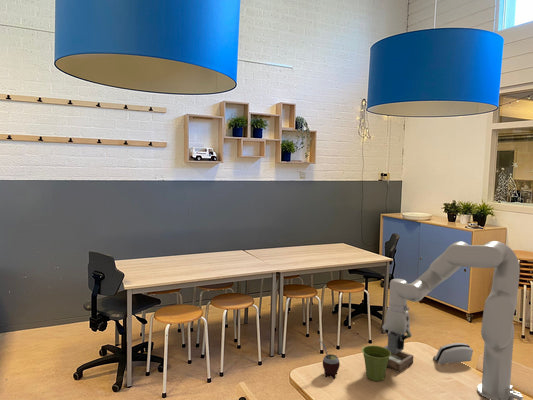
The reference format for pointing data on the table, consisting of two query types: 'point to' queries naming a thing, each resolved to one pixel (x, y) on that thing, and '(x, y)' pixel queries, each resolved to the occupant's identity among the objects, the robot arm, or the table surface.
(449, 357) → the grey rounded block
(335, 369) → the mate gourd
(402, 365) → the square wooden tray
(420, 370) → the table surface
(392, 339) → the grey block
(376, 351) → the plant pot
